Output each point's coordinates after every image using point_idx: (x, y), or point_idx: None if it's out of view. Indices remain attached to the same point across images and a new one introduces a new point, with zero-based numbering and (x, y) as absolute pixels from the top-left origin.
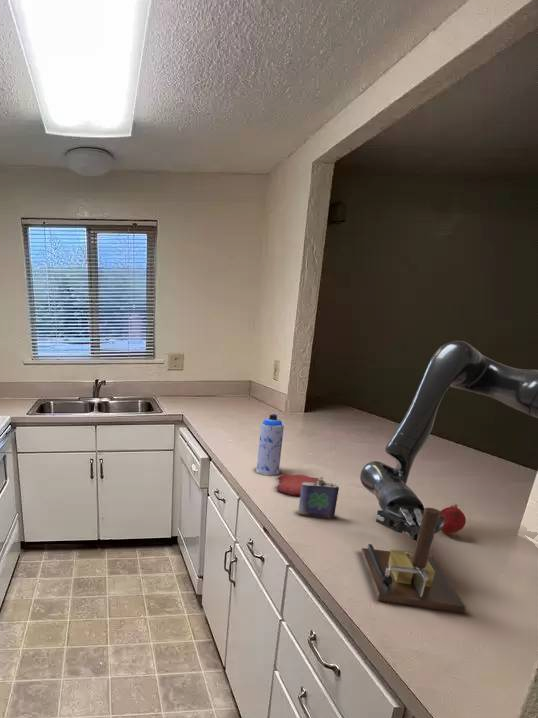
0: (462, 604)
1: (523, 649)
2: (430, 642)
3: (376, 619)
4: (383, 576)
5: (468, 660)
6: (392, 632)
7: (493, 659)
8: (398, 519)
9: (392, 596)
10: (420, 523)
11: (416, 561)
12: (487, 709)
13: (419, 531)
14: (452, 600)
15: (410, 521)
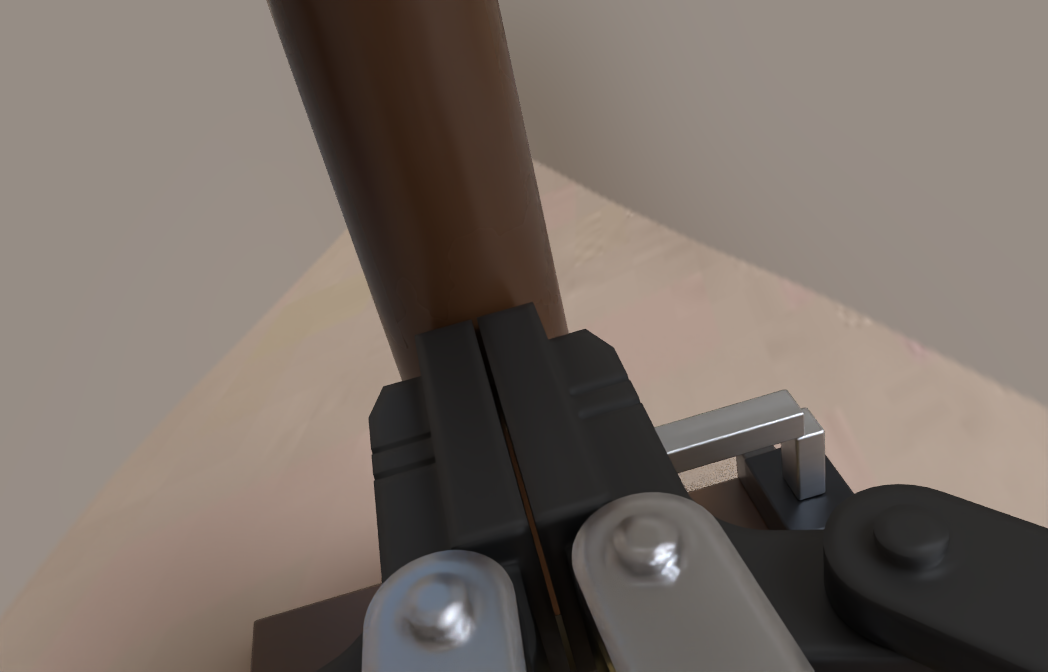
0: (262, 636)
1: (104, 508)
2: None
3: (763, 352)
4: (827, 471)
5: (383, 338)
6: (673, 319)
7: (281, 387)
8: (1003, 583)
9: (722, 483)
10: (466, 636)
11: None
12: None
13: (530, 156)
14: (317, 648)
15: (698, 627)
